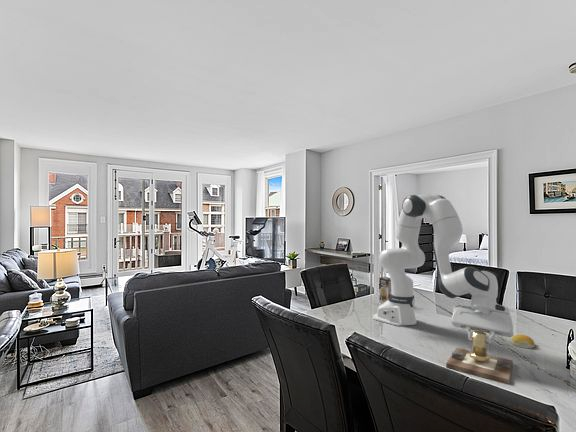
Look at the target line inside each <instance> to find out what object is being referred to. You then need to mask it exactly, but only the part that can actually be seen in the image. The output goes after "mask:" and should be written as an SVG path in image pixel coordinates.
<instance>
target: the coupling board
mask: <svg viewBox="0 0 576 432" xmlns="http://www.w3.org/2000/svg"><path fill="white" fill-rule="evenodd" d="M470 351H471V350H469V349H466V348H460V347H456V348H455V349H454V351H451V355H450V357H449V358H448V360H447V361H446V363H445V364H446V365H445V366H446V368H447V369H451V370H455V371H459V372H463V373H467V374H471V375H473V376H477V377H480V378H485V379H489V380H492V381H496V382H500V383H504V384H507V385H509V384H510V381H511V375H512V371H513V366H514V360H513V359H509V358H506V357H505V358H504V357H499V356H495V355H491V354H489V355H490V360H489V361H478V360H475V359H473V358H471V357H470Z"/></svg>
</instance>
